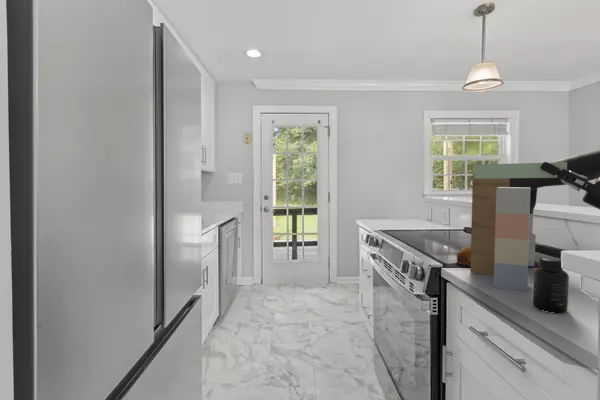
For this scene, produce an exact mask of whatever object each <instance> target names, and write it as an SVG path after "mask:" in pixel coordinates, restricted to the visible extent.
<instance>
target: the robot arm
mask: <svg viewBox="0 0 600 400" xmlns="http://www.w3.org/2000/svg"><path fill="white" fill-rule="evenodd" d="M555 162H567V171H566V169H563V168H558V167H556V166H554V165H552V164H549V163H555ZM542 163H543V164H542V166H541V167H540V169H541V170H543V171H546V172H548V173H550V174H552V175H554V174H555V175H554V176H555V177H556V178H510V187H531V190H530V219H529V233H531V234H533V232H534V231H533V230H534V229H533V228H534V209H535V208H536V205H537V196H538V189H539V188H544V187H555V186H569V187H570V188H571V189H573V190H575V191H577V192H580V190H583V191H585V194H584V196H583V197H582V202H584V203H585V204H587V205H589V206H591V207H593V208H596V209H598V210H600V148H598V149H594V150H591V151H587V152H582V153H579V154H574V155H571V156H567V157H565V158H561V159H557V160H555V161H552V162H547V161H544V162H542ZM566 173H567V175H566V176H565V174H566ZM564 176H565V178H563V177H564ZM594 180H595V181H594ZM591 181H594V182H591Z"/></svg>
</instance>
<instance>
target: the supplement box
mask: <svg viewBox="0 0 600 400" xmlns="http://www.w3.org/2000/svg"><path fill="white" fill-rule="evenodd" d="M536 238H537V237H536V234H531V233H529V249H528V269H529V268H533V269H534V268H535V259H536V257H535V255H536Z"/></svg>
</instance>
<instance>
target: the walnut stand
mask: <svg viewBox="0 0 600 400" xmlns="http://www.w3.org/2000/svg"><path fill="white" fill-rule="evenodd" d="M498 187H510V178H474V173H472V189H471V192H472V193H471V194H472V197H471V200H472V201H471V232H470V233H471V234H470V235H471V238H470V241H471V242H470V246H471V266H470V270H469V271H470V272H469V273H471V274H481V275H488V276H494V257H495V222H496V188H498Z"/></svg>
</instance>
